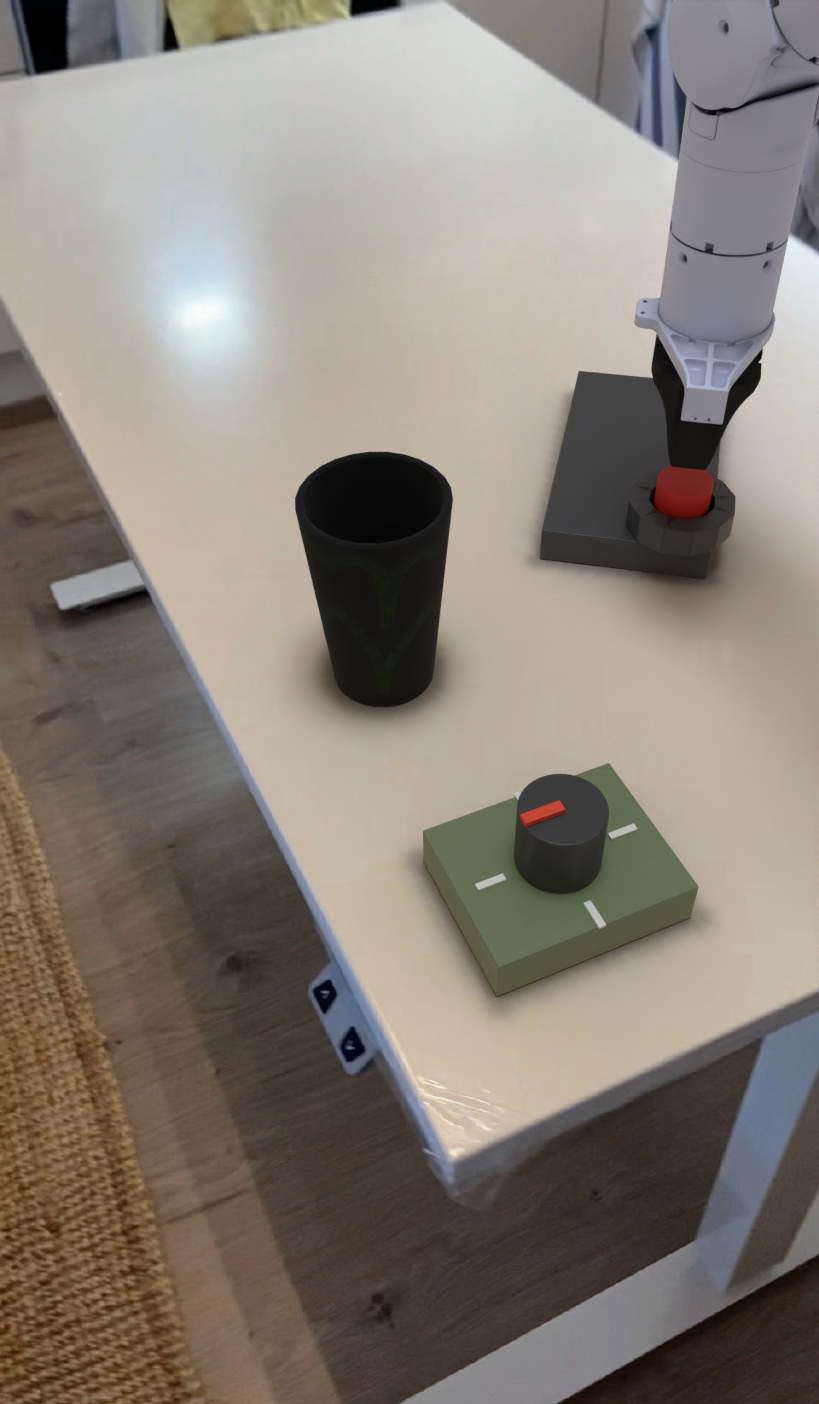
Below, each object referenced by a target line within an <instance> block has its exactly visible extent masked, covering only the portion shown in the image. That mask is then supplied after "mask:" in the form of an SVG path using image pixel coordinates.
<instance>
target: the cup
mask: <svg viewBox="0 0 819 1404" xmlns="http://www.w3.org/2000/svg"><path fill="white" fill-rule="evenodd" d="M453 503H454V497H453V491H452V486H451V484H450V483H449V482H448V480H447V478H446V476H445V475H444V474H443V473H441V471H439V470H438V469H437V468H436V467H435V466H433V465H431V464H430V463H428V462H425V461H424V460H423V459H421V458H417V457H414V456H411V455H408V454H405V453H398V452H393V451H392V452H391V451H364V452H357V453H350V454H348V455H347V454H346V455H343V456H341V457H337V458H334V459H332V460H330V461H328V462H326V463H324V464H322V465H320V466H319V467H318V468H316V469H315V470H314V471H312V472H311V473H310V474H308V475H307V477H305V478H304V479H303V481H302V482H301V484H300V485H299V486H298V489H297V491H296V494H295V496H294V510H295V515H296V519H297V523H298V528H299V533H300V536H301V541H302V544H303V549H304V554H305V557H306V561H307V567H308V570H309V574H310V575H309V576H310V579H311V583H312V587H313V593H314V597H315V600H316V605H317V609H318V612H319V613H318V614H319V618H320V621H321V626H322V630H323V634H324V638H325V642H326V646H327V652H328V655H329V659H330V663H331V667H332V672H333V673H332V674H333V676H334V680H335V683H336V686H337V687H338V689H339V690H340V691H341V692H342V693H343V694H344V695H345V696H346V697H347V698H349V699H351V700H352V701H354V702H357V703H359V704H362V705H365V706H368V707H369V706H370V707H375V708H376V707H377V708H389V707H395V706H400V705H403V704H406V703H408V702H411V701H413V700H414V699H416V698H418V697H419V696H421V694H422V693H424V692H425V691H426V690H427V689H428V688H429V686H430V684H431V682H432V680H433V676H434V672H435V664H436V656H437V655H436V654H437V646H438V639H439V638H438V636H439V627H440V618H441V611H442V601H443V593H444V585H445V576H446V575H445V574H446V567H447V566H446V565H447V556H448V547H449V539H450V530H451V522H452V521H451V520H452V513H453Z"/></svg>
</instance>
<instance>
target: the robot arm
mask: <svg viewBox="0 0 819 1404" xmlns="http://www.w3.org/2000/svg"><path fill="white" fill-rule="evenodd" d="M667 48H668V49H667V50H668V55H669V61H670V65H671V69H672V71H673V75H674V77H675V80H676V82H677V84H678V86H679V87H680V89H681V91H682V92H683V94H684V95H685V96H686V103H685V111H684V118H683V125H682V133H681V140H680V147H679V155H678V163H677V169H676V177H675V185H674V192H673V193H674V194H673V198H672V199H673V200H672V206H671V213H670V214H671V215H670V222H669V230H668V236H667V243H666V244H667V245H666V251H665V252H666V253H665V259H664V267H663V275H662V282H661V288H660V289H661V290H660V297H656V298H655V297H653V298H652V297H643V298H640V299H639V300H637V302H636V307H635V312H634V320H633V323H634V326H636V327H637V328H640V329H646V330H652V331H654V332H655V333H656V335H655V340H654V346H653V347H654V348H653V354H652V360H651V366H650V373H651V376H652V377H651V378H653V381H654V384H655V386H656V387H657V389H658V391H659V394H660V396H661V399H662V402H663V406H664V409H665V415H666V426H667V446H668V456H669V461H670V465H671V466H672V467H678V468H687V469H697V470H706V469H707V467H708V466H709V464H710V462H711V461H712V459H713V457H714V455H715V453H716V450H717V448H718V446H719V443H720V444H721V441H722V440H723V439H722V438H723V436H724V434H725V432H726V430H727V428H728V425H729V424H730V422H731V420H732V419H733V417H734V415H735V414H736V412H737V411H738V409H739V408H740V407H741V406H742V405H743V403H744V402H745V401H746V400H747V399H749V398H750V396H751V395H753V394H754V393H755V391H756V389H757V388H758V385H759V384H760V382H761V379H762V365H763V364H762V362H760V361H761V360H762V358H763V353H764V347H765V346H766V345H767V344H768V342H769V341H770V339H771V338H772V335H773V333H774V328H775V323H776V315H775V312H774V308H775V303H776V299H777V295H778V289H779V285H780V280H781V277H782V270H783V266H784V261H785V256H786V253H787V252H786V251H787V246H788V242H789V237H790V233H791V227H792V223H793V218H794V213H795V209H796V204H797V199H798V193H799V190H800V184H801V181H802V180H801V179H802V176H803V171H804V166H805V161H806V156H807V152H808V148H809V147H808V146H809V142H810V138H811V132H812V128H813V127H814V126H815V125H816V124H817V123H818V120H819V0H672V1H671V6H670V9H669V14H668V21H667Z"/></svg>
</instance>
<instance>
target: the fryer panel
mask: <svg viewBox="0 0 819 1404" xmlns="http://www.w3.org/2000/svg"><path fill="white" fill-rule="evenodd" d="M573 775H574V776H578V777H581V778H583V779H585V780H587V781H589V782H591V783H592V784H593V785H595V786H596V787H597V788H598V789H599V790H600V791H601V792H602V794H603V795H604V797H605V798H606V800H607V803H608V806H609V820H608V827H607V833H606V839H605V846H604V852H603V858H602V865H601V868H600V871H599V873H598V875H597V876H596V878H595V879H594V880H593V881H592V882H591V883H590V884H588V885H587V886H585V887H584V888H582V889H580V890H577V891H574V892H569V893H553V892H548V891H544V890H541V889H539V888H537V887H535V886H533V885H532V884H530V883H529V882H528V881H526V880H525V879H524V878H523V876H522V875H521V874H520V872H519V871H518V869H517V867H516V864H515V861H514V843H515V828H516V813H517V802H518V799H519V796H520V794H521V792H522V791H521V790H519V791H516V792H514V793H513V796H514V797H511V798H509V799H506V800H503V801H500V802H497V803H495V804H493V805H490V806H486V807H484V808H481V809H479V810H476V811H473V812H470V813H467V814H465V815H461V816H459V817H456V818H454V819H452V820H448V821H445V822H443V823H440V824H437V825H435V826H432V827H429V828H426V829H424V830H422V847H423V848H422V852H423V853H422V854H423V856H422V857H423V863H424V866H425V867H426V869H427V871H428V873H429V875H430V876H431V878H432V880H433V882H434V883H435V886H436V888H437V889H438V891H439V893H440V895H441V897H442V899H443V900H444V902H445V905H446V906H447V908H448V910H449V911H450V913H451V916H452V917H453V919H454V921H455V923H456V924H457V927H458V929H459V930H460V932H461V934H462V936H463V937H464V939H465V942H466V943H467V944H468V947H469V948H470V951H471V953H472V954H473V956H474V958H475V959H476V961H477V963H478V965H479V967H480V969H481V971H482V972H483V974H484V976H485V978H486V979H487V981H488V983H489V985H490V987H491V990H492V991H493V992H494V994H495V996H496V997H499V996H502V995H505V994H507V993H509V992H512V991H514V990H517V989H519V988H521V987H524V986H527V985H530V984H531V983H534V982H536V981H539V980H541V979H544V978H546V977H548V976H551V975H553V974H556V973H559V972H561V971H563V970H565V969H567V968H570V967H573V966H576V965H577V964H580V963H583V962H584V961H587V960H591V959H592V958H595V957H598V956H600V955H602V954H604V953H607V952H609V951H612V950H615V949H616V948H619V947H622V946H623V945H627V944H628V943H631V942H634V941H636V940H639V939H641V938H643V937H646V936H648V935H650V934H653V933H655V932H658V931H660V930H663V929H665V928H668V927H670V926H672V925H675V924H677V923H680V922H682V921H684V920H688V919H689V918H691V917H692V914H693V910H694V906H695V903H696V900H697V895H698V891H699V885H698V883H697V882H696V880H695V879H694V878H693V876H692V875H691V874H690V873H689V871H688V870H687V868H686V867H685V865H684V864H683V863H682V862H681V860H680V858H679V857H678V856H677V854H676V853H675V852H674V850H673V849H672V848H671V847H670V845H669V843H668V842H667V841H666V839H665V838H664V837H663V835H662V834H661V832H660V831H659V830H658V828H657V827H656V825H655V824H654V823H653V821H652V820H651V818H650V817H649V815H648V814H647V813H646V812H645V810H644V809H643V808H642V806H641V804H640V803H639V802H638V801H637V799H636V798H635V796H634V795H633V794H632V792H631V791H630V790H629V789H628V787H627V786H626V784H625V782H623V780H622V779H621V777H620V776H619V774H618V773H617V772H616V770H615V769H614V768H613V766H612V765H611V764H610V763H609V762H607V763H605V764H602V765H599V766H596V767H593V768H591V769H588V770H585V771H582V772H580V773H577V774H573Z"/></svg>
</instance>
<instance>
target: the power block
mask: <svg viewBox="0 0 819 1404" xmlns="http://www.w3.org/2000/svg"><path fill="white" fill-rule="evenodd" d="M720 452H721V442H720V443H719V446H718V448H717V450H716V453H715V455H714V457H713V459H712V461H711V462H710V464H709V466H708V467H707V469H706V471H707V472H708V473H709V474H710V475H711V476H712V478H713V481H714V485H713V490H712V495H711V500H710V505H709V509H708V511H707V513H706V514H705V515H704V516H702V517H698V518H694V519H690V520H687V519H678V518H671V517H669V516H667V515H665V514H663V513H661V512H659V511H658V510H657V509H656V507H655V504H654V498H655V492H656V485H657V479H658V475H659V473H660V472H661V471H662V470H663V469H664V468H666V467H668V466H671V465H670V461H669V456H668V446H667V426H666V415H665V409H664V406H663V402H662V399H661V396H660V394H659V391H658V389H657V387H656V386H655V384H654V381H653V377H648V376H637V375H626V374H619V373H618V374H617V373H606V372H596V371H585V370H579V371H578V372H577V375H576V381H575V384H574V389H573V393H572V398H571V403H570V407H569V411H568V415H567V420H566V424H565V429H564V431H563V437H562V441H561V445H560V450H559V454H558V459H557V463H556V467H555V471H554V476H553V480H552V484H551V487H550V494H549V498H548V502H547V507H546V510H545V515H544V519H543V523H542V528H541V533H540V534H541V535H540V549H539V559H542V560H551V561H556V562H557V561H559V562H567V563H575V564H583V565H591V566H600V567H606V568H607V567H609V568H616V569H622V570H623V569H624V570H631V571H632V570H633V571H640V572H648V573H657V574H665V575H674V576H679V577H680V576H681V577H689V578H697V579H707V576H708V572H709V566H710V562H711V557H712V553H713V552H714V551H715V550H717V549H718V548H719V547H720V546H721V545H722V544H724V542H726V541H727V540H728V539H729V538H730V536H731V532H732V528H733V525H734V519H735V514H736V501H737V497H736V495H735V494H734V492H733V491H732V490H731V489H730V488H729V487H728V485H727V484H726V483H725V482H724V481H723V480H722V479H720V478H719V465H720V464H719V463H720Z"/></svg>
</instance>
